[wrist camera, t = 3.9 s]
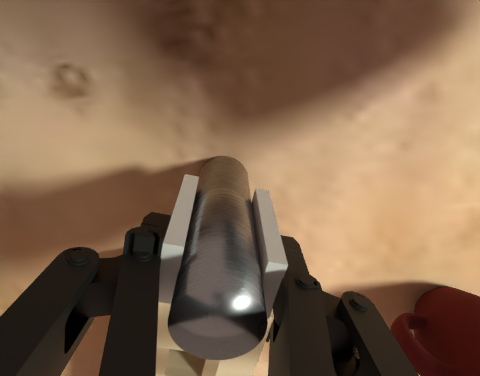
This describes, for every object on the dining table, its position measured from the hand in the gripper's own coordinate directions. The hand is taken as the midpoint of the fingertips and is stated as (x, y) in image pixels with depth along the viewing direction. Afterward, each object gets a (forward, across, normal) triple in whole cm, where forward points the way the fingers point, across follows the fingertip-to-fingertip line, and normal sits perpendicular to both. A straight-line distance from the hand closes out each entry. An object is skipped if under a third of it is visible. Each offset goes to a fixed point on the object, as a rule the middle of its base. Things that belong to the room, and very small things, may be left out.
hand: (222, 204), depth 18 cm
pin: (+4, 0, 0) cm, 4 cm away
